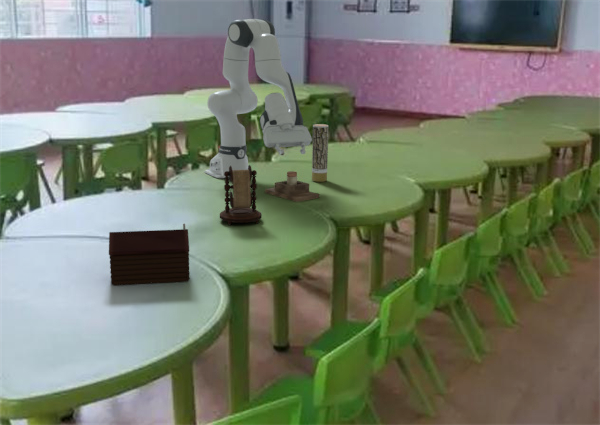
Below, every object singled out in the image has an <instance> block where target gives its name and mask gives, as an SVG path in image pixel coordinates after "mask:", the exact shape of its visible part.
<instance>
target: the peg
mask: <svg viewBox="0 0 600 425" xmlns="http://www.w3.org/2000/svg"><path fill="white" fill-rule="evenodd" d="M286 181H287V184H288V185H296V184H297V181H298V172H297V171H293V170H292V171H291V170H289V171H287V172H286Z"/></svg>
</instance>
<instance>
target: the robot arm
mask: <svg viewBox="0 0 600 425" xmlns="http://www.w3.org/2000/svg"><path fill="white" fill-rule="evenodd" d="M274 26H275V25H273V23H272V22H271V21H269V20H266V19H260V18H259V19H258V18H249V19H236V20H233V21H232V22H230V24H229V25H228V27H227V38H226V41H225V45H224V50H223V60H222V63H223V65H222V76H223V77H224V79H225V80H227V81H228V83H229V87H230V89H224V90H218V91H215V92H212V93H210V94H209V96H208V99H207V108H208V111H209V112H210V113H211V114H212V115H213V116H214V117H215V118H216V120H217V122H218V125H219V129H220V144H219V146H217V149H218V153H216V155H215V156H214V157H212V158H211V159H210V161H209V168H208V169H205V170H204V174H207V175H209V176H212V177H213V178H216V179H226V178H225V177H226V176H225V175H224V173H225V172H226V171H228V172H229V167H230V166H231V167H232V170H248V166H249V158H248V156H247V154H246V153H247V150H248V148H247V144H246V128H245V126H244V125H243V124H242V123H240V121H239V119H238V115H240V114H241V115H242V114H248V113H250V112H253V111H254V110H255V109H256V108H257V106H258V103H259V102H258V96H257V93H255V91H254V90H252V88H251V85H250V82H249V81H250V80H249V64H250V63H249V61H250V51H251V49H252V50H253V53H254V64H255V72H256V74H257V76H258V77H259V78H260V79H261V80H262V81H264V82H266V83H268V84H271V85H274V86H277V87H278V88H280V89H281V90H282V92H283V94H282V93H281V92H270V93H269V94H267V95H266V96H265V97H264V106H265V107H264V111H263V112H262V113H261V115H260V117H259V126H260V129H261V130H262V134H263V135H262V138H263V143H264V146H265V147H267V148H274V150H275V151H277V152H278V154H279V156H284V155H285V150H284V149H282V147H283V148H285V147H300V150H299V152H300V155H305V154H306V146H309V145H310V144H311V143H312V142H313V136H311V133H310V131H309V129H308V127H307V126H304V119H303V116H302V112H301V110H300V106H299V101H298V98H297V95H296V94H297V93H296V90H295V87H294V83H293V80H292V79H293V78H292V77H291V75H290V73H289V72H287V71H286V70H285V68H284V66H283V63H282V55H281V50H280V45H279V41H278V38H277V37H276V36H275V34H276V30H275V27H274ZM228 177H229V176H228Z"/></svg>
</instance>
